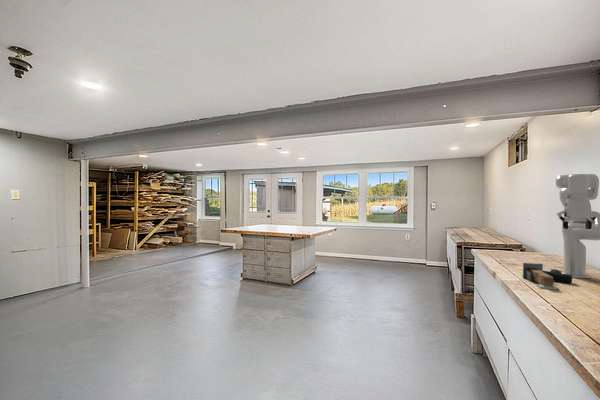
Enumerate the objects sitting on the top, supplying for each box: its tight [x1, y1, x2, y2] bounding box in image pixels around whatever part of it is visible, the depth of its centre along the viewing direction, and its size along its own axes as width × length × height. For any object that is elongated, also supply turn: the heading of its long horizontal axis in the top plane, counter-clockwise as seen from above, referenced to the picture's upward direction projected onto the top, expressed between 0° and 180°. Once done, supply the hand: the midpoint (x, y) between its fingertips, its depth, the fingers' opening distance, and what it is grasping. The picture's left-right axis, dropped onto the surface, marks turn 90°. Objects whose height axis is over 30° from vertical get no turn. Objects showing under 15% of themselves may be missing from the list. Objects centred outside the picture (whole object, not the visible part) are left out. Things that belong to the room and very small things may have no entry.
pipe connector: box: [543, 268, 573, 285], centre depth 162 cm, size 12×5×15 cm
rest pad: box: [536, 283, 560, 291], centre depth 148 cm, size 4×8×1 cm, turn 72°
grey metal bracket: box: [522, 262, 544, 283], centre depth 160 cm, size 7×9×9 cm
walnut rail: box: [530, 269, 554, 287], centre depth 154 cm, size 16×4×5 cm, turn 162°
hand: (576, 229), depth 151 cm, fingers open, 9 cm apart
